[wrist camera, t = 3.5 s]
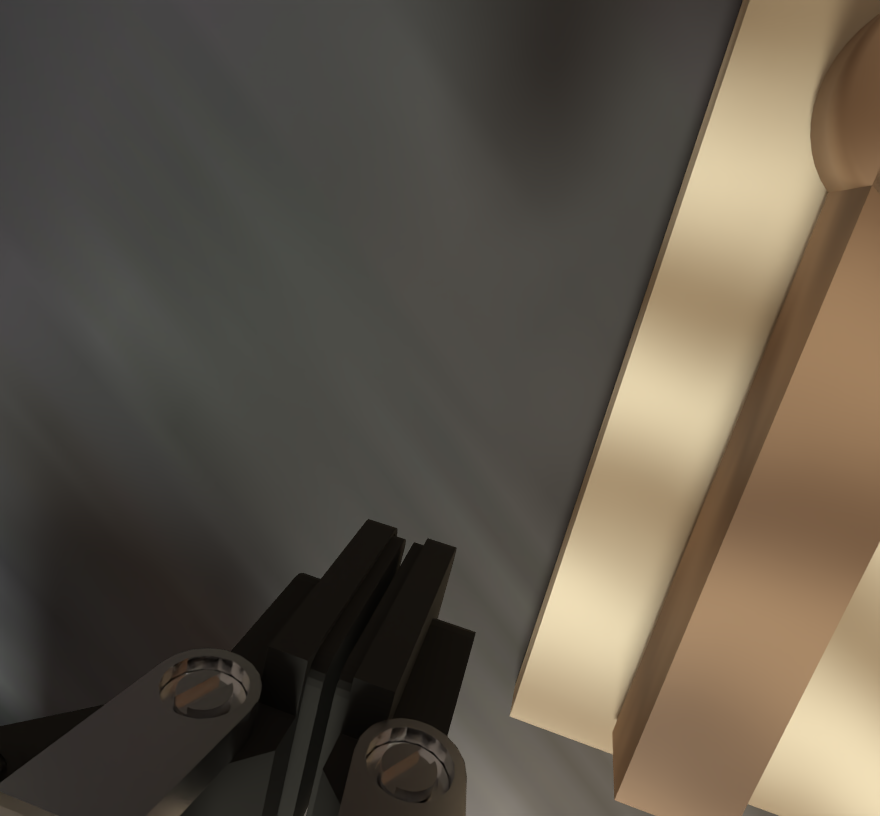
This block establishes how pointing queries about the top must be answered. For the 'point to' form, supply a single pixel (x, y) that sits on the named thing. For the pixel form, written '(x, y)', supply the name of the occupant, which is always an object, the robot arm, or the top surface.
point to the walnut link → (776, 501)
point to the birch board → (711, 423)
